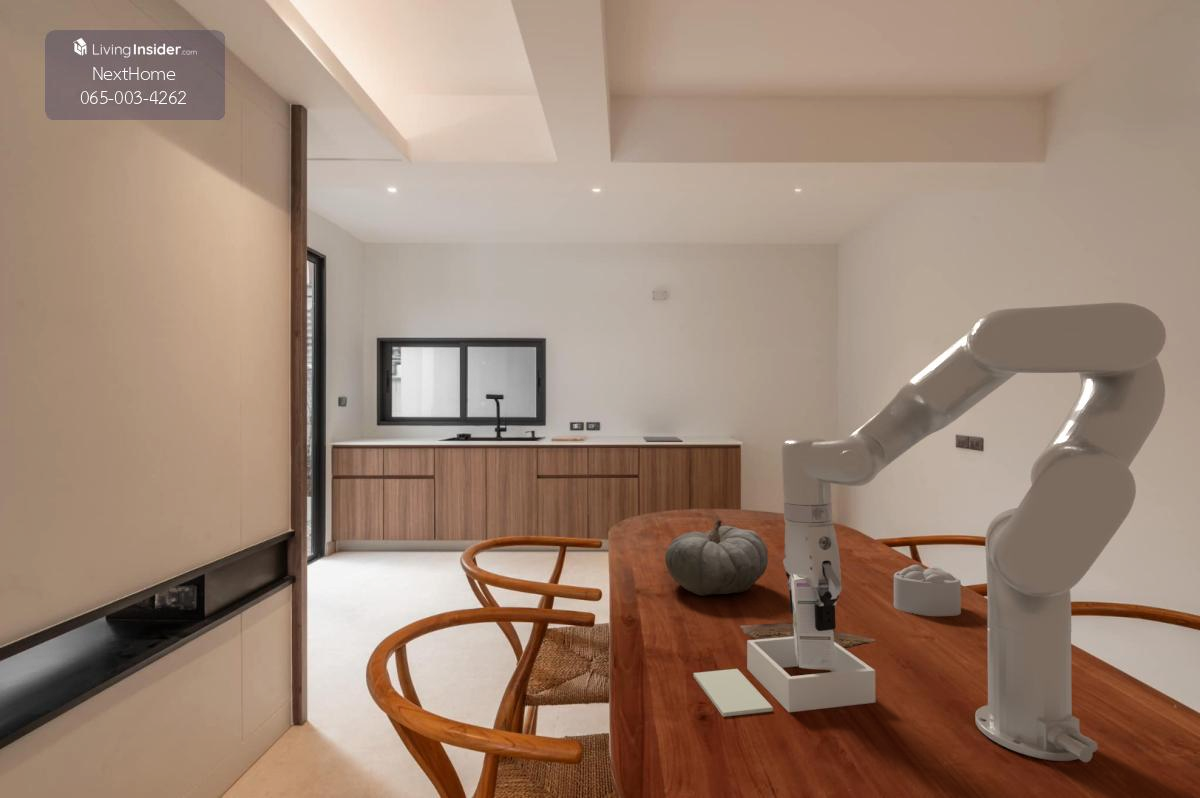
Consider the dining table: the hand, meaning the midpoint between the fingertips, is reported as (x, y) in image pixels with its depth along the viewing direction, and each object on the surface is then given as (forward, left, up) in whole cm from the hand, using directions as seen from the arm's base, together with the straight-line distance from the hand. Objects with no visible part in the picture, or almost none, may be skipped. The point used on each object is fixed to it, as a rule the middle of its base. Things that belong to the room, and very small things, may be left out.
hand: (812, 620), depth 97 cm
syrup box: (0, 0, -7) cm, 7 cm away
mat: (+1, +14, -11) cm, 18 cm away
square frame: (+1, +1, -11) cm, 11 cm away
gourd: (+50, -3, -11) cm, 51 cm away
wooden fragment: (+19, -10, -11) cm, 24 cm away
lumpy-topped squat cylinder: (+28, -44, -11) cm, 53 cm away
